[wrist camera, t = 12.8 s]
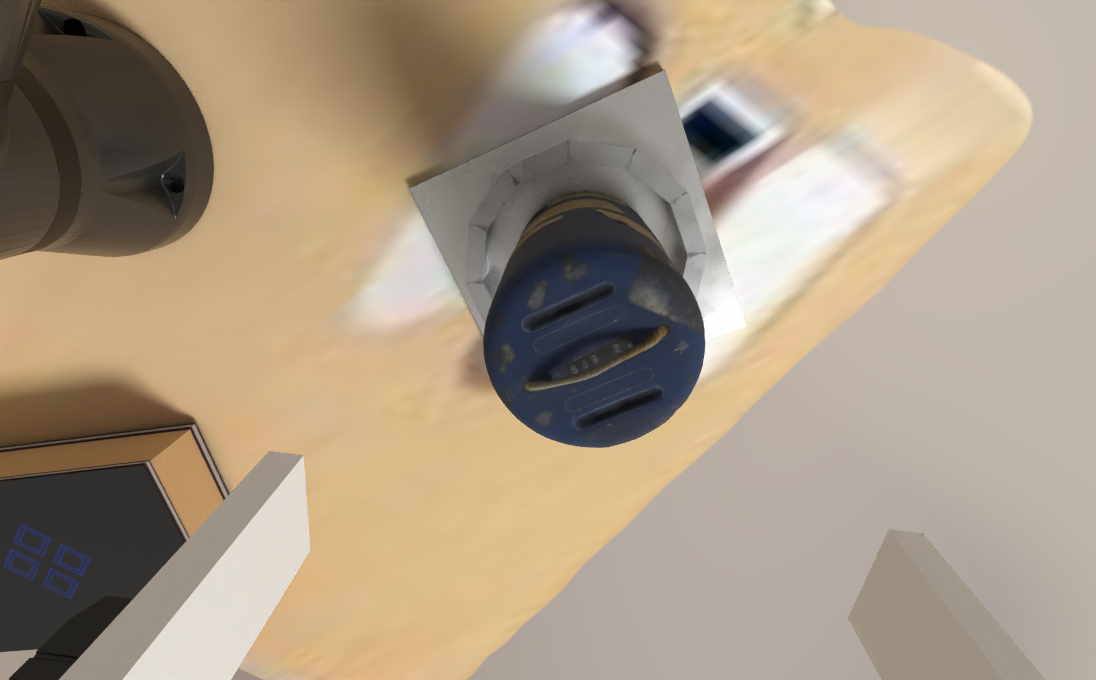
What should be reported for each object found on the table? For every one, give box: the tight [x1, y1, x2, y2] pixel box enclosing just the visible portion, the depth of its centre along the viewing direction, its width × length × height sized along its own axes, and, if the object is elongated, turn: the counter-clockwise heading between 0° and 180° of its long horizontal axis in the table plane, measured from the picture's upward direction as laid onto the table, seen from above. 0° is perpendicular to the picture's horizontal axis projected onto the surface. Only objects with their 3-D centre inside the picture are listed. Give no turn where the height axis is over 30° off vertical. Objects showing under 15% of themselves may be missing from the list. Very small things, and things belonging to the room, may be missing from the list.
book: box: [0, 423, 229, 652], centre depth 47 cm, size 17×25×7 cm
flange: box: [409, 70, 746, 340], centre depth 37 cm, size 18×18×3 cm
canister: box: [483, 192, 705, 448], centre depth 29 cm, size 10×10×18 cm
